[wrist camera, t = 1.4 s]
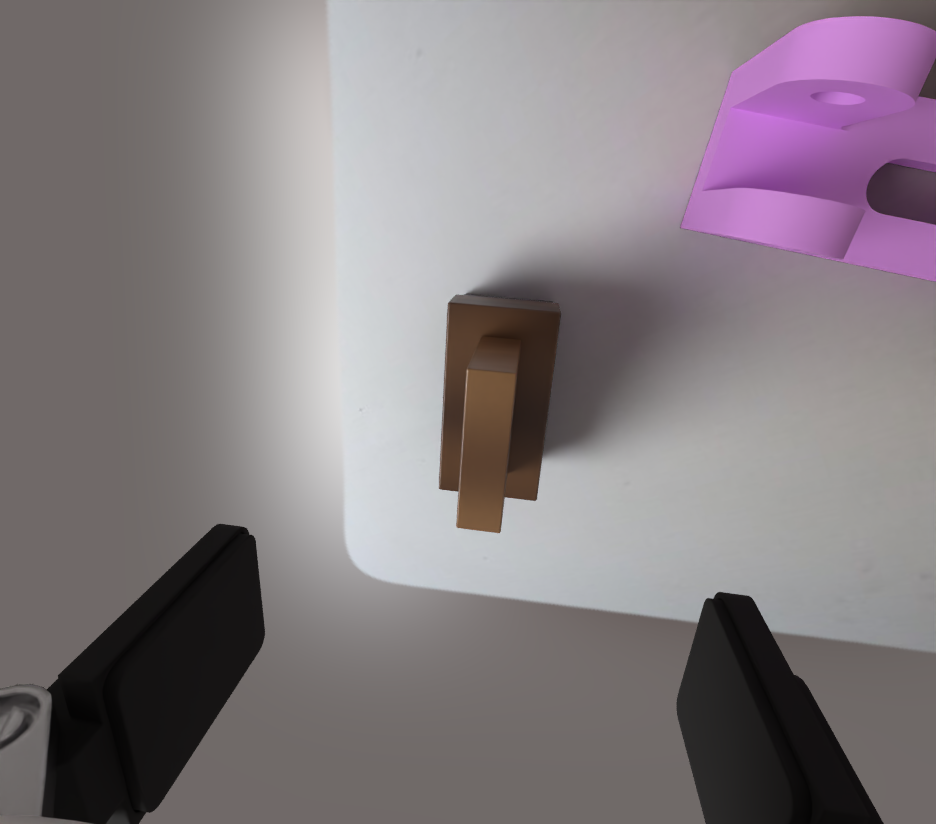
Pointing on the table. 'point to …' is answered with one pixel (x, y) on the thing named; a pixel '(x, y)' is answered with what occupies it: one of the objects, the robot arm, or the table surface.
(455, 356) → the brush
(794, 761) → the robot arm
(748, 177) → the bracket
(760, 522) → the table surface
